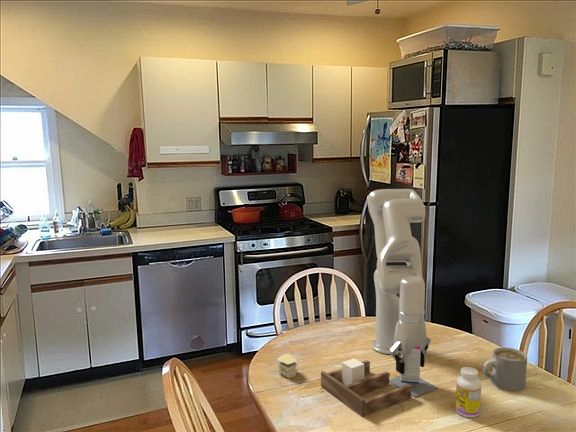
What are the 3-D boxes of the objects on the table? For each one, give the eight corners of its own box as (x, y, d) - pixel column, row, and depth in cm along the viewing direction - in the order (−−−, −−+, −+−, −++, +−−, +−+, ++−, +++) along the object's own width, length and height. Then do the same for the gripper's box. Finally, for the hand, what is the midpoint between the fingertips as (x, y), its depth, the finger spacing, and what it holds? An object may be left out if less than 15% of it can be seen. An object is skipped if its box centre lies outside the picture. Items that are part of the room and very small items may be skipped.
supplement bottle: (451, 406, 142) (453, 365, 140) (473, 405, 142) (475, 364, 140) (461, 419, 135) (463, 376, 133) (484, 418, 136) (486, 375, 134)
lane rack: (367, 371, 164) (367, 357, 164) (411, 397, 147) (411, 382, 146) (321, 386, 155) (320, 372, 154) (362, 417, 137) (362, 400, 136)
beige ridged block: (306, 375, 163) (306, 360, 162) (285, 383, 158) (285, 368, 157) (288, 364, 171) (288, 350, 170) (268, 372, 165) (267, 357, 164)
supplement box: (420, 384, 150) (420, 349, 149) (400, 382, 152) (401, 348, 150) (419, 375, 156) (419, 341, 154) (400, 374, 157) (400, 340, 156)
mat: (410, 373, 162) (410, 372, 162) (437, 388, 152) (437, 387, 152) (387, 381, 157) (387, 380, 157) (414, 397, 147) (415, 396, 147)
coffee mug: (518, 376, 159) (520, 347, 157) (530, 391, 149) (532, 361, 148) (476, 375, 160) (477, 346, 159) (485, 390, 150) (487, 360, 149)
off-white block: (354, 381, 158) (354, 358, 157) (364, 387, 154) (364, 364, 152) (342, 385, 155) (342, 362, 154) (351, 392, 151) (351, 368, 150)
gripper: (422, 307, 158) (421, 357, 161) (382, 318, 149) (381, 371, 152) (440, 314, 152) (438, 366, 155) (399, 326, 143) (397, 381, 146)
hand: (410, 368), depth 153 cm, fingers closed on supplement box, 8 cm apart
